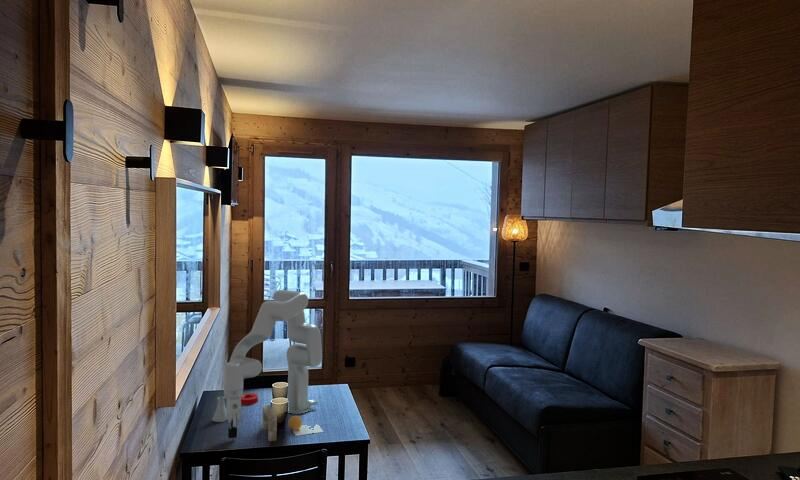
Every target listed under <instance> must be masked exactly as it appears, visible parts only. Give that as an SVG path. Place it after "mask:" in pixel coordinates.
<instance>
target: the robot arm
mask: <svg viewBox="0 0 800 480" xmlns="http://www.w3.org/2000/svg"><path fill="white" fill-rule="evenodd" d="M272 299H273V300H266V301H264V302H263V303H262V304H261V305H260V308H259V311H258V312H257V315H256V318H255V320H254V323H253V325H252V328H251V331H249V333H247V334H246V335H245V336H244V337H243V338H242V339H241V340H239V342H238V343H237V344H236V346H235V347H234V349H233V351H232V353H231V356H230V358H229V362H227V363H225V365H224V367H223V368H224V370H223V371H224V372H223V373H224V374H223V397H224V398H225V399H226V403H225V407H226V413H227V419H228V420H227V421H228V430H227V431H228V433H227V436H228V439H235V438H236V439H237V437H238V423H241V422H242V405H241V397H243V394H244V380H245V379H250V378H255V377H257V376H259V374H261V372H262V369H263V364H262V362H261V361H260V360H259V359H255V358H252V357H251V358H250V357H247V356H246V355H247V353H248V352H249V350H251V348H252V347H254V346H256V345H258V344H261V343H263V342H266V341H268V340H269V339H270V338H271V336H272V333H273V330H274V327H276V326H275V325H276V323H277V322H286V325H287V326H286V327H287V336H288V339H289V341H291V342H292V343H293V344H291V345H290V346H288V348H287V350H286V356H285V357H286V361H287V371H288V373H287V374H288V377H287V402H288V401H289V411H288V412H289V413H292V414H291V415H301V414H300V413H303V414H306V413H305V412H307V413H308V411H309V410H310V409H312V406H316V405H318V400H314V399H309V370H308V367H309V368H316V367H318V366H320V364H321V363H322V360H323V348H322V347H323V346H322V344H323V343H322V334H321V333H322V332H321V331H320V328H319V327H318V326H317V325H315V324H311V323H307V322H306V316H305V310H306V308H307V307H308V304H309V297H308V295H307V294H306V293H305V292H302V291H294V290H286V289H280V290H276V291H275V292H274V293H273V295H272ZM310 411H311V410H310ZM310 411H309V412H310ZM289 413H288V414H289Z"/></svg>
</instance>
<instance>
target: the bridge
mask: <svg viewBox="0 0 800 480" xmlns="http://www.w3.org/2000/svg"><path fill="white" fill-rule="evenodd" d="M261 426H262V430H264V431H266V430H267V434H268V436H267V440H268V442H275V441H277V437H278V436H277V432H278V429H277V427H278V416H277V415H276V413H275V412H274V410H273V408H272V406H271V405H270V404H269V405H262V425H261Z"/></svg>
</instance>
